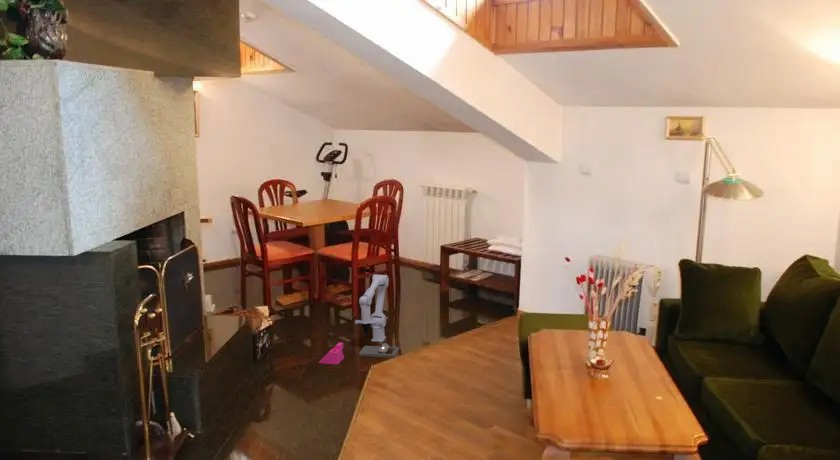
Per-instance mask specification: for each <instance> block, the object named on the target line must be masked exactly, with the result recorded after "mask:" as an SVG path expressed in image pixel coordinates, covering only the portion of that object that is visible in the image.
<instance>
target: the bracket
mask: <svg viewBox="0 0 840 460" xmlns="http://www.w3.org/2000/svg"><path fill="white" fill-rule="evenodd" d="M343 349H344V342H338V343H337V344H336V345H335V346H334V347H333V348H331V349H330V350H329V351H328V352H327V353H326V354H325V355H324V356H323V357H322V358H321V359H320V360H319V362H318V363H320V364H329V365H338V364H340V363H341V362H342V361H343V360H344V359H345V356H344V353H343Z"/></svg>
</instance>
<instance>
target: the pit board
mask: <svg viewBox="0 0 840 460" xmlns="http://www.w3.org/2000/svg"><path fill="white" fill-rule="evenodd" d="M381 346H382V345H380V346H379V345H364V346H363V347H362V349H361V350H360V352H359V353H358V356H359V357H376V358H394V359H395V358H396V355H397V354H398V353H399V351H400V347H399V346H389V349H388V351H392V353H386V354H379V353H378V350H379V348H380V347H381Z"/></svg>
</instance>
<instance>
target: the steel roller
mask: <svg viewBox="0 0 840 460" xmlns="http://www.w3.org/2000/svg"><path fill="white" fill-rule="evenodd" d="M380 346H381V347H380V348H379V350H378V353H379V354H387V352H388V351H389V350H388V349H389V347H390V345H389V344H388V343H386V342H383V343H382V344H381V345H380Z"/></svg>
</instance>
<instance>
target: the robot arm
mask: <svg viewBox="0 0 840 460" xmlns="http://www.w3.org/2000/svg"><path fill="white" fill-rule="evenodd" d="M371 278H372V279H371V281H372V282H371V284H370V287H368V288H366V291H365V292H364V294H363V295H362V296H360V297H359V299H358V301H359V302H358V303H359V305H360V306H359V307H360V309H361V310H360V311H361V319H356V320H355V321H354V325H357V324H358V325H359V324H360V325H361V327H362V330H363V332H364V335H365V336H368V335H369V332H370V328H372V339H371V342H379V343H381V342H383V343H384V340H385V339H386V338H387V336H386V335H385V334H386V333H385V327H386V324H387V316H386V314H385V313H384V312H383V311H384V305H385V294H386V289H387V288H389V281H390V279H389V276H388V275H387V274H376V273H375V274H372V277H371ZM376 289H377V293H376V292H375V291H376ZM375 294H377V295H376V303H375V311H374V312H373V313H372V314H371V305H372V303H373V298H374V296H375Z"/></svg>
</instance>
